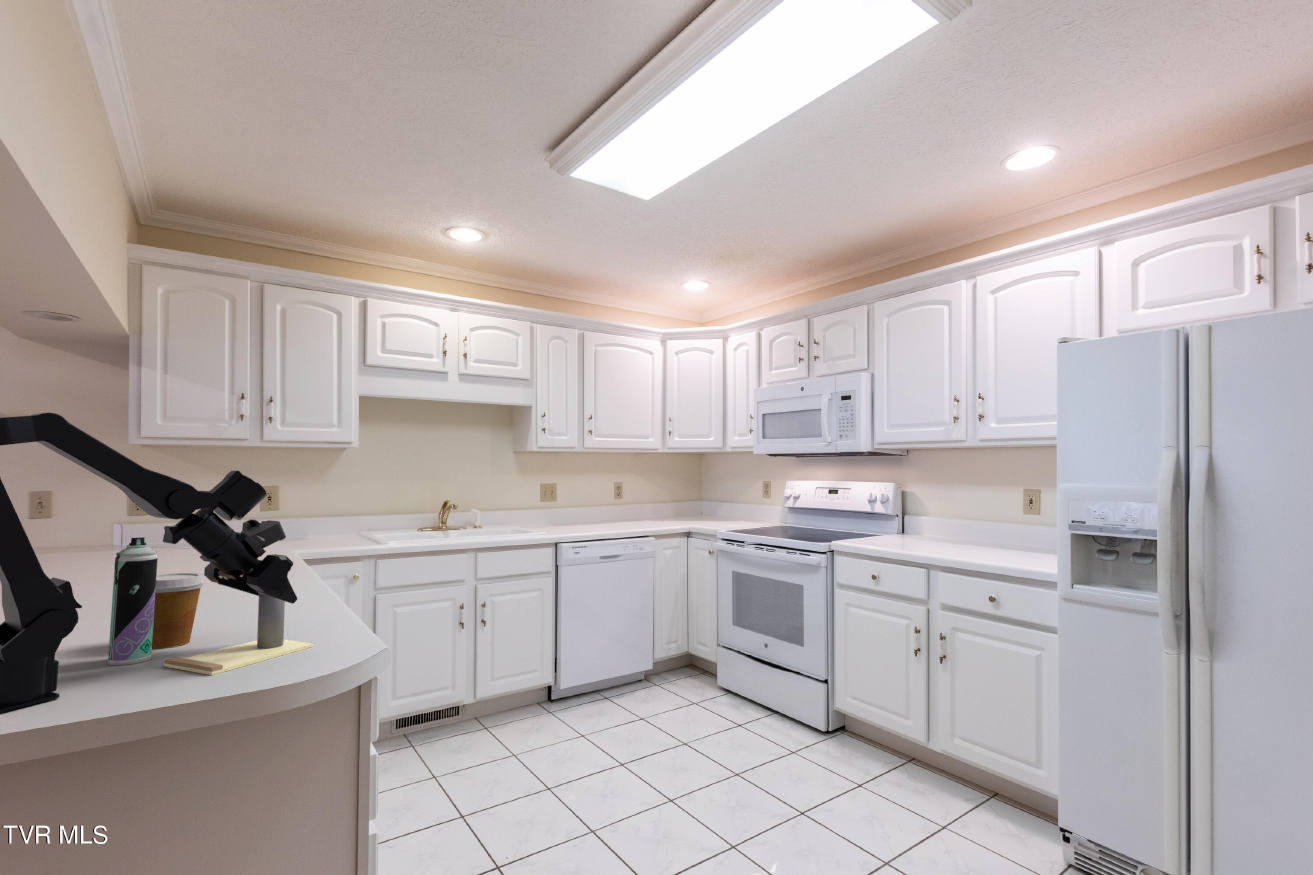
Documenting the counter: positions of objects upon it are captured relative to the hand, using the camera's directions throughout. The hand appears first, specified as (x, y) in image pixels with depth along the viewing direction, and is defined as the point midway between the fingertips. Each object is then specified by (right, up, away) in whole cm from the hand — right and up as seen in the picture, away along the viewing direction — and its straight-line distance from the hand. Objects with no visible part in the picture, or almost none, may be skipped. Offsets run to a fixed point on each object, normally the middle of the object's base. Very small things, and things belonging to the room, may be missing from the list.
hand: (280, 598), depth 114 cm
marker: (-1, -8, -2) cm, 8 cm away
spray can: (-19, -8, -10) cm, 23 cm away
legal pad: (-3, -8, -6) cm, 11 cm away
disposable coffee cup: (-20, -8, 0) cm, 22 cm away
